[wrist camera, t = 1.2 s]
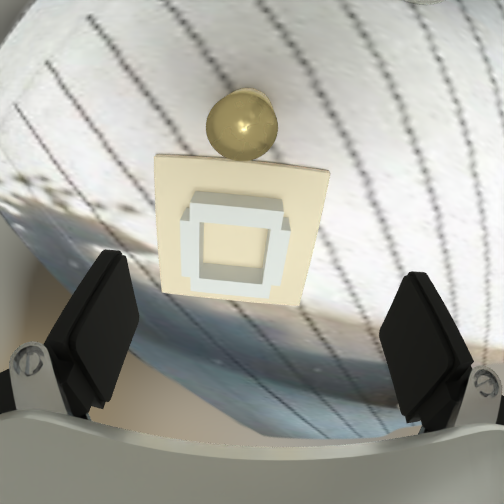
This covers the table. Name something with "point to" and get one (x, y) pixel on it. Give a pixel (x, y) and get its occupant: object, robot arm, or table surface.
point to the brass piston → (242, 125)
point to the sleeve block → (236, 227)
